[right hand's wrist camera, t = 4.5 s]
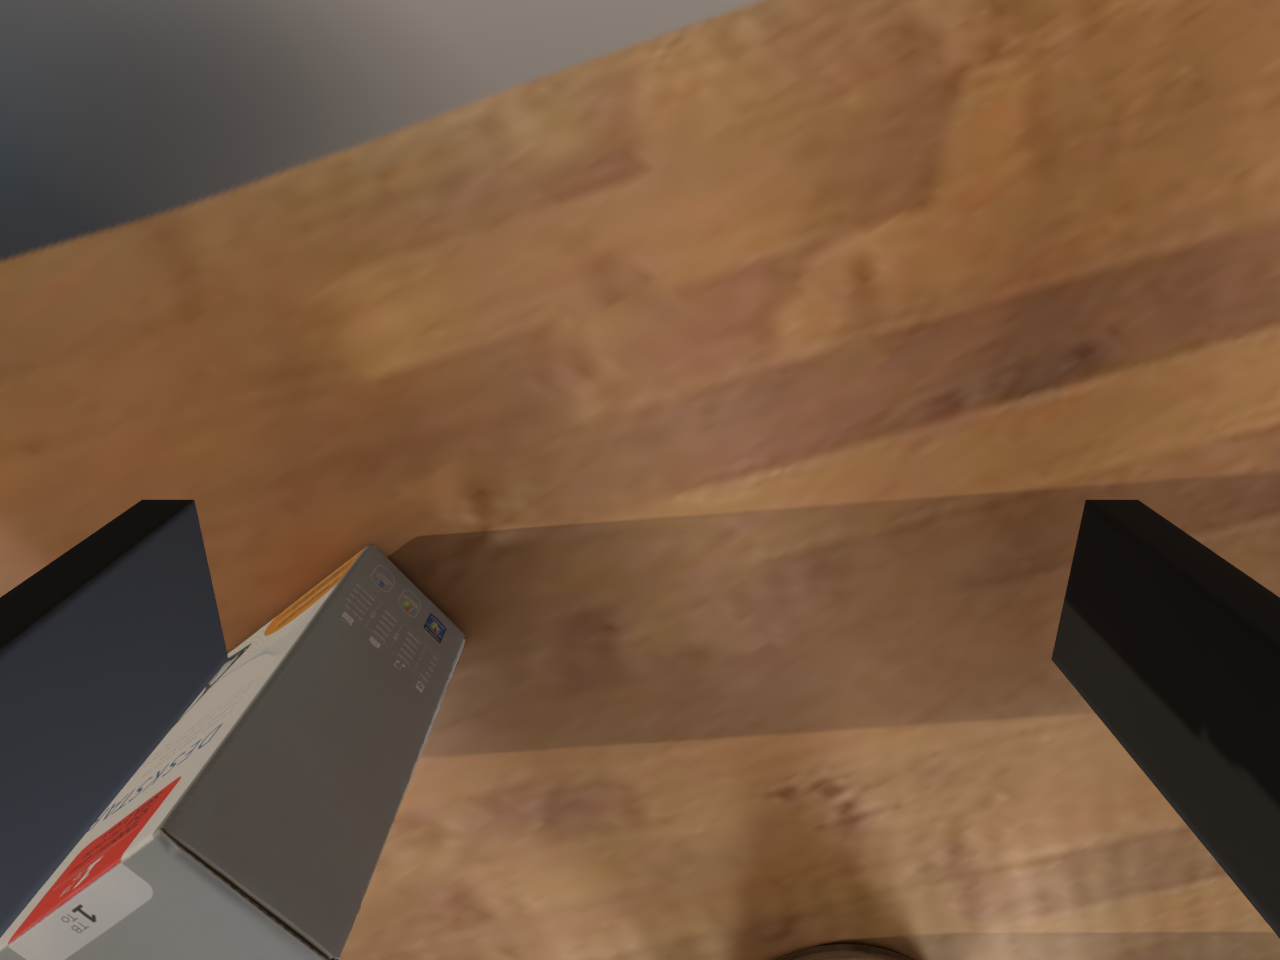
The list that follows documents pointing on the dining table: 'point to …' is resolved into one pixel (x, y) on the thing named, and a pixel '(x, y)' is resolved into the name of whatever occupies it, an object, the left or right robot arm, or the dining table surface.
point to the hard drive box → (262, 790)
